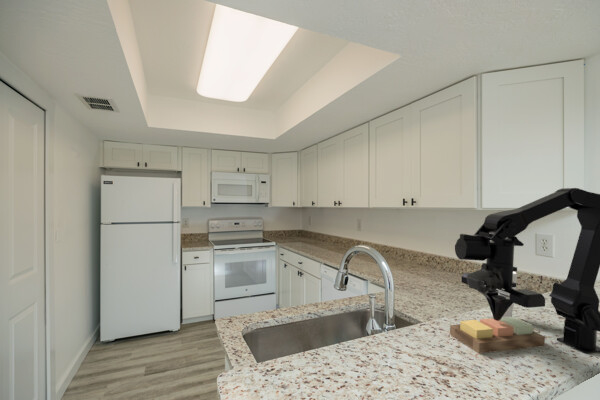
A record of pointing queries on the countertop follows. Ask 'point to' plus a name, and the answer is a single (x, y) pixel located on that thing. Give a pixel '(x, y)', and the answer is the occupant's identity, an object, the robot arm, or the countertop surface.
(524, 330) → the sage key
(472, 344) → the brown wooden slotted tray
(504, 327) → the terracotta key
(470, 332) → the ochre key
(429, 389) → the countertop surface
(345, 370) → the countertop surface
